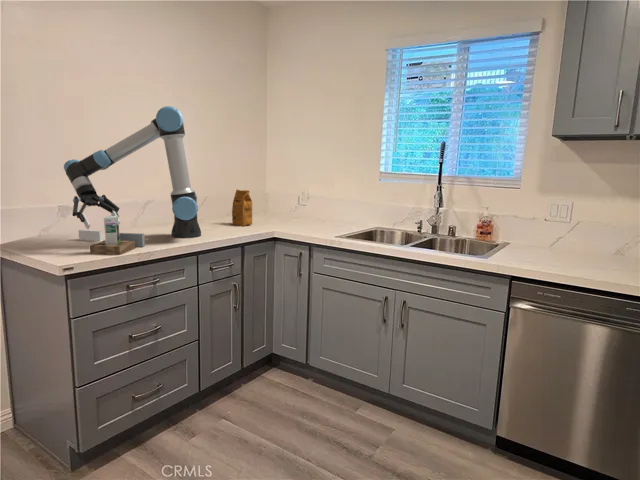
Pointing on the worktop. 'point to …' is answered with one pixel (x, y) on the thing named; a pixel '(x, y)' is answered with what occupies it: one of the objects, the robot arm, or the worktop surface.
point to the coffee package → (242, 208)
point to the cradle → (112, 248)
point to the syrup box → (112, 230)
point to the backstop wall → (133, 238)
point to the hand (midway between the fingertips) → (104, 225)
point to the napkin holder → (90, 235)
